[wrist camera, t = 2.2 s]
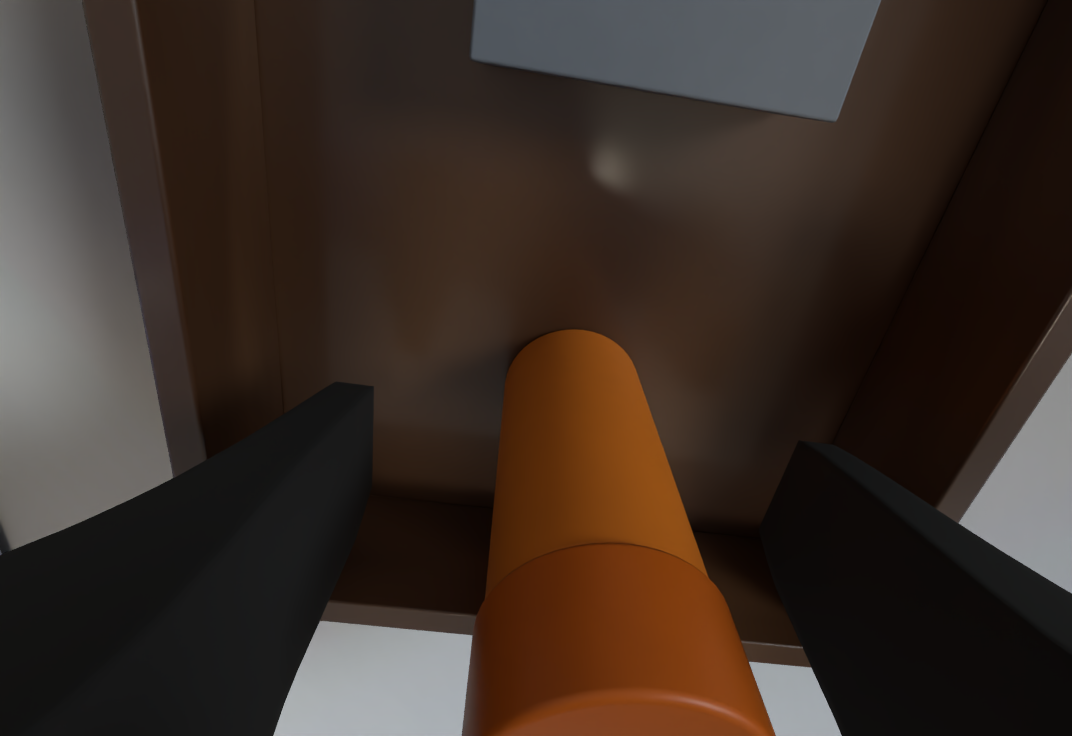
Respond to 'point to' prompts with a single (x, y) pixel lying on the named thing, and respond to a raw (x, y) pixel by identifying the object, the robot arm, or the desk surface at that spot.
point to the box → (590, 261)
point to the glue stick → (597, 569)
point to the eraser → (687, 47)
